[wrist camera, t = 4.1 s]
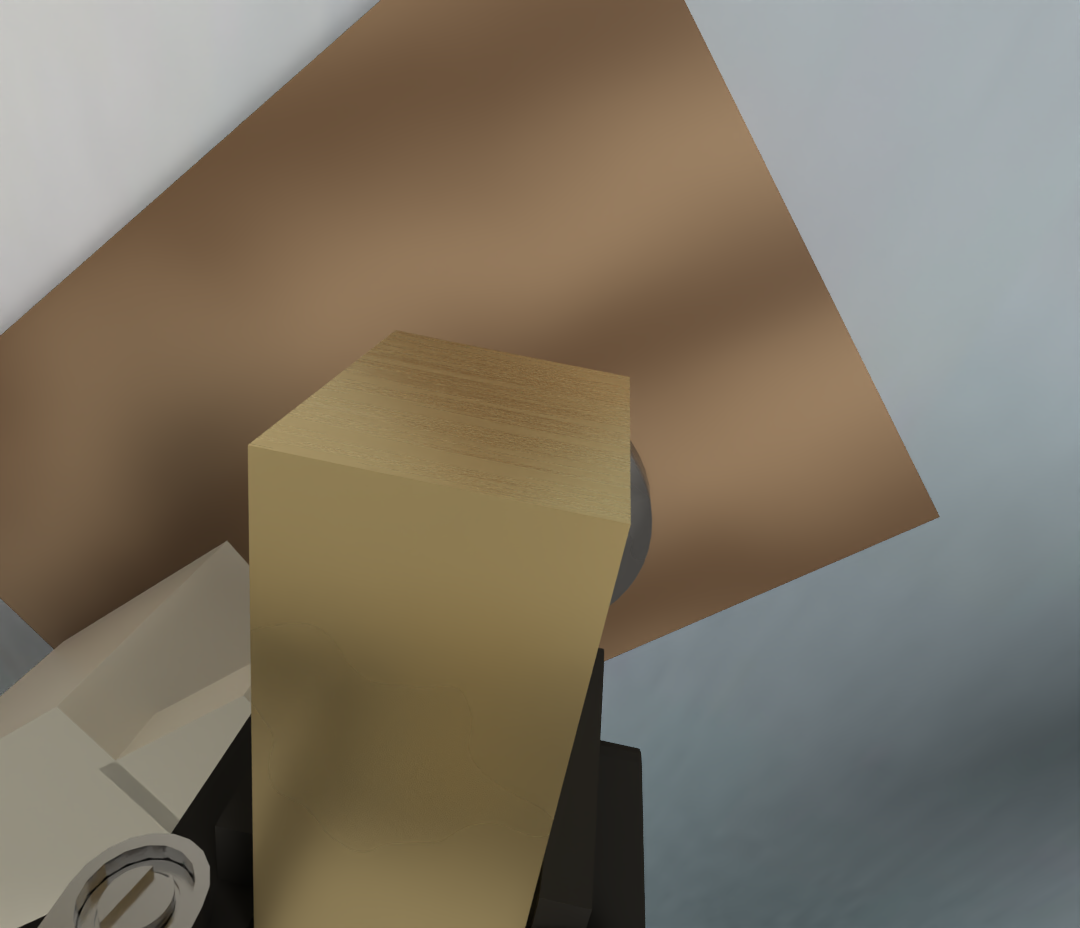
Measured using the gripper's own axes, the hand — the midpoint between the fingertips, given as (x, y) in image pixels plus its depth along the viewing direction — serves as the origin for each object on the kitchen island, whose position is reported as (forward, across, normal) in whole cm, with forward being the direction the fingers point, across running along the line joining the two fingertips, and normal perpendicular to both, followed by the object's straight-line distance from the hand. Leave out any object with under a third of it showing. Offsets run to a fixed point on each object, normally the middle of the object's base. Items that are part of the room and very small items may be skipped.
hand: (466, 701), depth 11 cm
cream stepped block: (+7, +7, +6) cm, 11 cm away
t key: (+7, 0, 0) cm, 7 cm away
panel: (+9, +4, 0) cm, 10 cm away
